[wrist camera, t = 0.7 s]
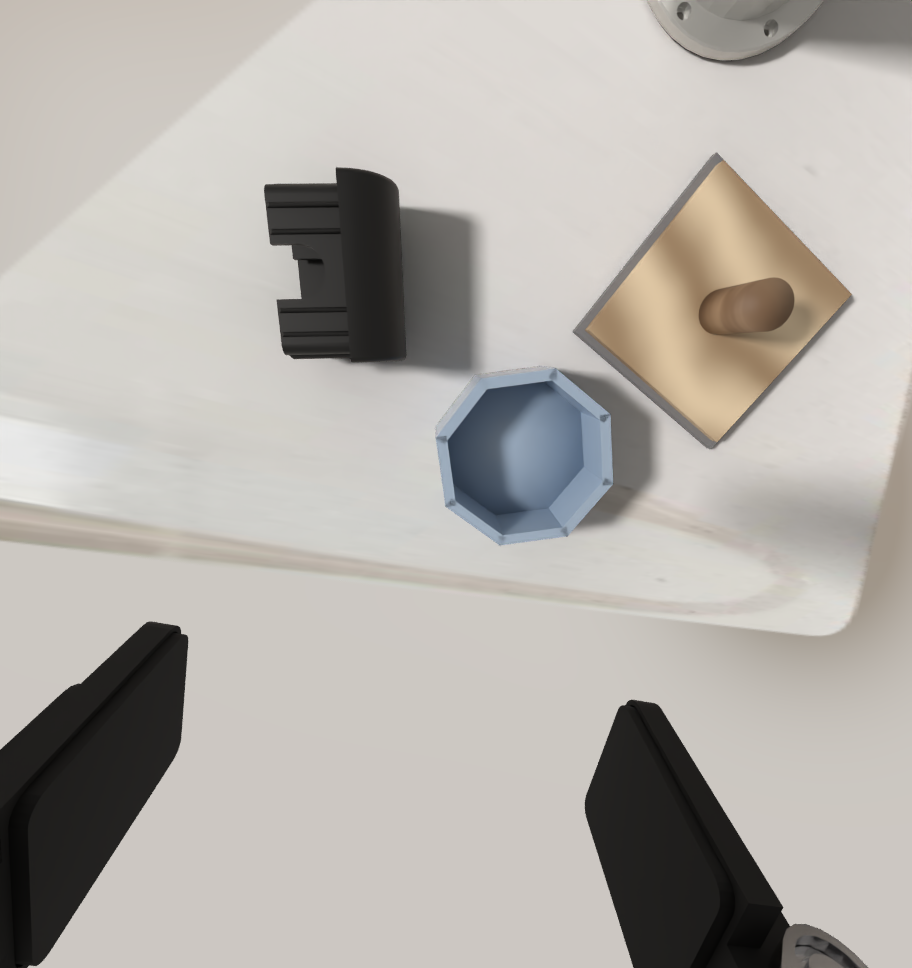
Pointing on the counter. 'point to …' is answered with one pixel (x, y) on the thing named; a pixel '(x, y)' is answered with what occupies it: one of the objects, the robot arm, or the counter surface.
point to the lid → (718, 304)
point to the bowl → (524, 454)
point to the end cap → (341, 267)
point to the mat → (619, 280)
